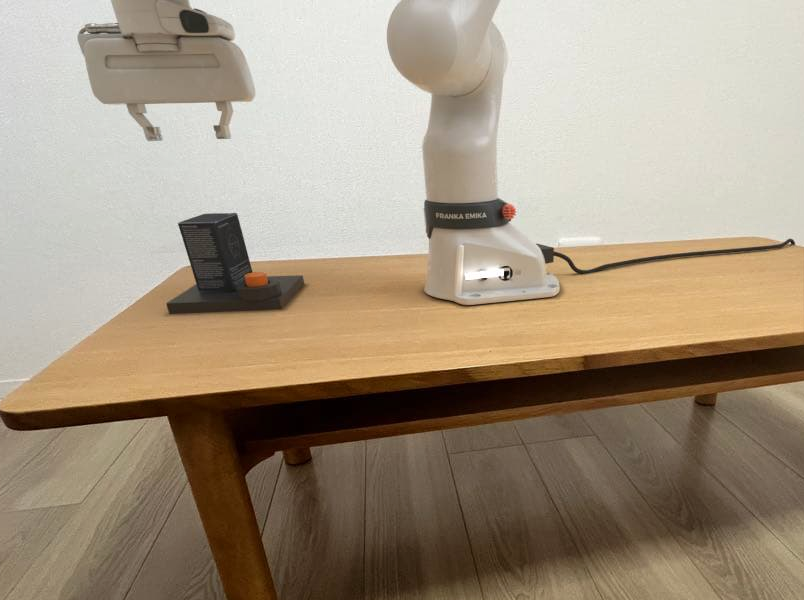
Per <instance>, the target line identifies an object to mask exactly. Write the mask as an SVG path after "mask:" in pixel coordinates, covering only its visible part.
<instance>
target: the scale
mask: <svg viewBox="0 0 804 600" xmlns="http://www.w3.org/2000/svg"><path fill="white" fill-rule="evenodd" d="M267 279H268V284H267V285H264V286H258V287H247V285H246V281H244V282H241V283H238V284H237V285H236V286H235V287H236V290H234V291H224V292H200V291H198V287H197V284H194V285H193V286H191V287H190V288H188V289H186V290H185V291H183V292H182V293H180V294H179V295H177V296H176V297H174V298H172V299H171V300H169V301H168V302H166V303H165V304H166V308H167V311H168V314H169V315H179V314H181V315H182V314H184V315H185V314H206V313H207V314H208V313H232V312H256V311H258V312H259V311H280V310H283V309H284V308H285V307H286V306H287V305H288V303H289V302H290V301H291V300H293V298H294V297H295V296H296V295H297V294H298V293H299V291H300V290H301V289H302V288H303V287H304V286H305V280H304V275H302V274H301V275H273V276H272V275H271V276H268V275H267Z"/></svg>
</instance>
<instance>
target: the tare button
mask: <svg viewBox="0 0 804 600" xmlns="http://www.w3.org/2000/svg"><path fill="white" fill-rule="evenodd" d="M252 272H253V271H252ZM244 277H245V281H246V285H247V287H258V286H264V285H267V284H268V279H267V277H268V275H267V273H266V272H264V271H255V272H253V273H248V274H246V275H244Z"/></svg>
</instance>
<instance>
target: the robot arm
mask: <svg viewBox="0 0 804 600" xmlns="http://www.w3.org/2000/svg"><path fill="white" fill-rule="evenodd" d="M110 3H111V6H112V9H113V12H114V15H115V19H116V22H112V23H111V22H108V23H107V22H106V23H94V22H93V23H92V22H91V23H90V22H89V23H86V24H84V27H82V28H81V29H80V30H79V31H78V33H77V42H78V45H79V48H80V51H81V55H82V56H83V57H84V61H85V66H86V72H87V77H88V80H89V84H90V89H91V91H92V94H93V96H94V97H95V99H97V100H98V101H99V102H100V103H101V104H103V105H109V106H110V105H111V106H112V105H126V108H127V111H128V114H129V115H130V116H131V117H132V118H133V120H134V121H136V123H137V124H138V126H140V127H141V128H142V130H143V133H144V137H145V139H146V141H147V142H160V141H161V142H162V141H163V139H164V137H163V135H162V134H161V133H162V129H161V127H160V126H154V125H153V124H152V123H151V122H150V120H149V119H148V118H147V117H146V115H144V114H147V113H148V112H147V107H146V105H157V104H158V105H159V104H160V105H161V104H162V105H164V104H202V103H204V104H205V103H207V104H209V103H215V107H216V110H217V112H221V114H220V118H219V121H218V124H214V125H212V127H213V131H214V132H215V134H214V135H215V137H216V139H217V140H231V139H232V133H231V130H230V124H231V121H232V118H233V114H234V108H233V104H232V103H250V102H253V101H254V99H255V97H256V88H255V83H254V79H253V76H252V72H251V70H250V67H249V63H248V62H247V58H246V56H245V53H244V52H243V50H242V48H241V47H240V46H238V44H236V43H235V42H232V41H234V40H235V38H236V34H235V29H234V26H233V24H231V23H230V22H228V21H227V20H225V19H223V18H221V17H219V16H216V15H213V14H210V13H207V12H206V11H205V10H204V11H203V10H201V9H199V8H196V7H195V8H192V6H191V4H190V0H110ZM500 3H501V0H400V1H399V2H397V4H396V5H395V7H394V8H393V10H392V11H391V14H390V16H389V19H388V23H387V26H386V45H387V46H386V47H387V51H388V54H389V57H390V59H391V61H392V63H393V66H394V67H395V70H397V71H398V73H399V74H400V75H401V76H402V77H403V78H404V79H405V80H407V81H408V82H409V83H411V84H412V85H413V86H415V87H416V88H419V89H420V90H421V91H423V92H425V93H428V94H431V98H430V99H431V100H430V110H429V117H428V124H427V128H426V132H425V134H424V136H423V139H422V145H421V152H422V164H423V175H424V187H425V188H424V189H425V198H426V199H424V202H423V219H424V228H425V234H426V237H427V238H428V256H427V269H426V270H427V271H426V277H425V284H424V288H423V291H424V293H426V294H427V295H428V296H431V297H433V298H435V299H441V300H446V301H452V302H455V303H456V304H460V305H463V306H473V305H484V304H494V303H503V302H504V303H505V302H514V301H523V300H524V301H525V300H533V299H543V298H552V297H555V296H557V295H558V294H559V293H560V290H561V288H560V282H559V281H560V280H559V279H558V278H557V276H555V275H554V274H552V273H551V272H548V271H547V264H552V263H554V259H555V258H554V257H557V258H560V259H563V260H564V261H566V262H567V264H568V265H569V267H570V268H571V270H572V271H573V272H575V273H576V274H580V275H587V274H593V273H598V272H600V271H603V270H606V269H610V268H611V269H612V268H617V267H621V266H629V265H633V264H638V263H644V262H652V261H660V260H667V259H675V258H676V259H677V258H685V257H686V258H687V257H696V256H697V257H698V256H708V255H709V256H710V255H720V254H733V253H745V252H755V251H765V250H775V249H781V248H784V247H786V246H787V245H788V244H789V243H790V244H791V246H795V245H796V242H795V240H794V239H793V238H788V239H786V240H785V241H783V242H782V243H778V244H771V245H770V244H769V245H760V246H749V247H739V248H726V249H725V248H723V249H713V250H704V251H703V250H701V251H689V252H679V253H671V254H663V255H661V254H660V255H653V256H646V257H640V258H633V259H627V260H622V261H618V262H611V263H606V264H602V265H599V266H597V267H594V268H591V269H581V268H578V267H577V266H576V265H575V264H574V262H573V260H572V259H571V258H570V257H569V256H567V254H564V253H561V252H559V251H558V252H557V251H555V248H554V247H553V246H548V245H544V244H540V243H536V242H535V241H533V240H532V239H531V238H529V237H528V236H527V235H526V234H524V233H523V232H522V231H521V230H520V229H518V228H517V227H515V226H514V225H513V224H512V223H511V222H512V219H514V218H515V216H516V215H517V210H516V208H515V206H514V205H513V204H511V203H509V202H507V201H505V200H503V199H502V198H499V195H498V155H497V152H498V151H497V149H498V145H497V144H498V130H499V122H500V114H501V105H502V96H503V84H504V77H505V75H506V71H507V68H508V62H509V61H508V60H509V56H508V55H509V54H508V49H507V45H506V42H505V40H504V37H503V35H502V33H501V32H500V30H499V28H498V27H497V24H495V23H494V22H493V19H494V17H495V13H496V12H497V9H498V6H500Z"/></svg>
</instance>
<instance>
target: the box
mask: <svg viewBox="0 0 804 600" xmlns="http://www.w3.org/2000/svg"><path fill="white" fill-rule="evenodd" d="M177 226H178V229H179V233H180V234H181V239H182V241H183V244H184V248H185V252H186V255H187V258H188V261H189V264H190V268H191V271H192V274H193V278H194V281H195V283H196V284H197V287H198V291H200V292H224V291H234V290H236V287H235V286H236V285H237V284H238V283H241V282H244V281H245V277H244V275H246V274H248V273H253V268H252V264H251V262H250V257H249V253H248V250H247V246H246V242H245V237H244V235H243V230H242V227H241V222H240V220H239V215H238V213H237V212H223V213H222V212H218V213H216V212H215V213H214V212H211V213H202V214H199V215H196V216H193V217H189V218H187V219H185V220H182V221H179V222H177ZM196 284H195V285H196Z"/></svg>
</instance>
